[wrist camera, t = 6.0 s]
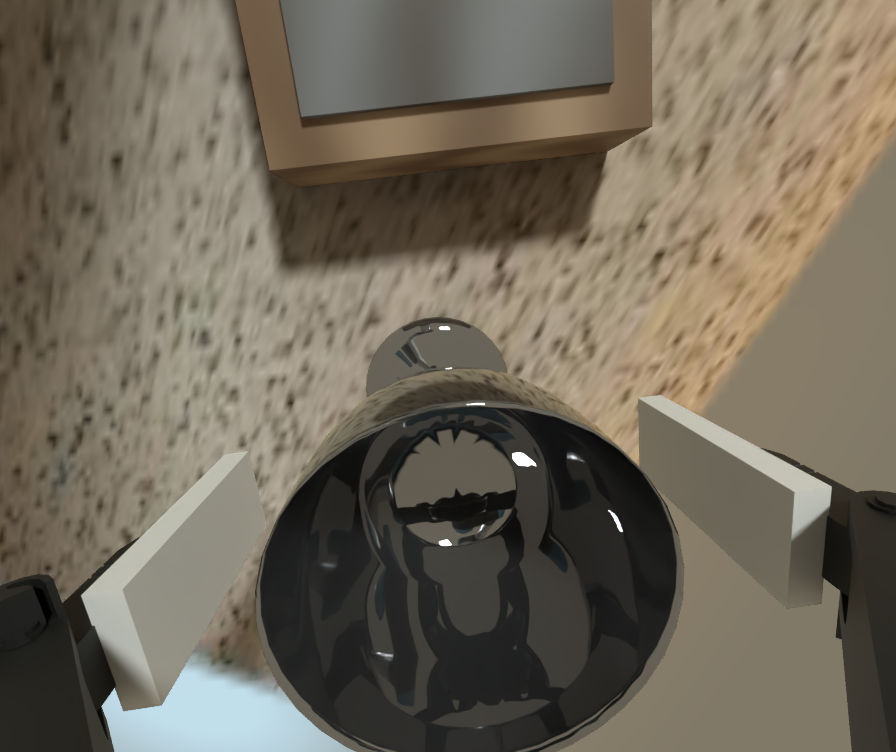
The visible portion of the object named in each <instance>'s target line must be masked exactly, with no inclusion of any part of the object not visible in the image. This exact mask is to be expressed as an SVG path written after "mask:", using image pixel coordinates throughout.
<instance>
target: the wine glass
mask: <svg viewBox="0 0 896 752" xmlns="http://www.w3.org/2000/svg"><path fill="white" fill-rule="evenodd" d="M366 392H367V398H366V399H365V400H363V401H362V402H361V403H359V404H358V405H357V406H356V407H355V408H354V409H353V410H352V411H351V412H349V413H348V414H347V415H346V416H345V417H344V418H343V419H342V420H341V422H340V423H339V424H338V425H337V426H336V427H335V428H334V429H333V430H332V431H331V432H330V433H329V434H328V435H327V436H326V438H325V439H324V441H323V442H322V444H321V445H320V447H319V448H318V450H317V451H316V453H315V454H314V456H313V457H312V459H311V460H310V462H309V463H308V465H307V466H306V468H305V469H304V471H303V473H302V474H301V476H300V477H299V479H298V480H297V482H296V483H295V485H294V486H293V488H292V490H291V492H290V494H289V496H288V498H287V500H286V502H285V503H284V505H283V507H282V509H281V511H280V513H279V515H278V518H277V520H276V523H275V525H274V528H273V530H272V533H271V535H270V538H269V540H268V542H267V545H266V547H265V550H264V552H263V555H262V557H261V563H260V568H259V574H258V579H257V585H256V591H255V596H256V625H257V629H258V633H259V637H260V641H261V644H262V648H263V652H264V656H265V658H266V660H267V662H268V664H269V666H270V668H271V670H272V672H273V675H274V677H275V679H276V681H277V683H278V685H279V686H280V687H281V688H282V690H283V691H284V692H285V694H286V695H287V696H288V698H289V699H290V700H291V702H292V703H293V704H294V706H295V707H296V708H297V709H298V710H299V711H300V712H301V713H302V714H303V715H304V716H305V717H306V718H307V719H309V720H310V721H311V722H312V723H313V724H314V725H315V726H316V727H317V728H319V729H320V730H321V731H322V732H324V733H325V734H327V735H328V736H330V737H332V738H333V739H335V740H336V741H338V742H339V743H341V744H343V745H344V746H346V747H348V748H350V749H352V750H354V751H357V752H556V751H558V750H561V749H563V748H565V747H567V746H570V745H572V744H574V743H575V742H577V741H579V740H580V739H582V738H583V737H585V736H587V735H588V734H590V733H592V732H593V731H595V730H597V729H598V728H600V727H601V726H602V725H604V724H605V723H606V722H607V721H608V720H610V719H611V718H612V717H613V716H615V715H616V714H617V713H618V712H619V711H621V710H622V709H623V708H624V707H625V706H626V705H627V704H628V703H629V702H630V701H631V700H632V699H633V697H634V696H635V695H636V694H637V693H638V692H639V691H640V690H641V689H642V688H643V686H644V685H645V684H646V683H647V681H648V680H649V678H650V677H651V675H652V674H653V672H654V671H655V669H656V668H657V666H658V665H659V663H660V661H661V660H662V658H663V656H664V655H665V652H666V650H667V648H668V646H669V643H670V641H671V639H672V636H673V634H674V632H675V629H676V626H677V622H678V617H679V613H680V609H681V605H682V600H683V585H684V563H683V557H682V551H681V545H680V540H679V535H678V532H677V530H676V527H675V525H674V522H673V520H672V517H671V515H670V512H669V510H668V507H667V505H666V503H665V502H664V500H663V499H662V497H661V496H660V494H659V493H658V491H657V490H656V488H655V487H654V485H653V484H652V482H651V481H650V479H649V478H648V476H647V475H646V474H645V473H644V472H643V471H642V470H641V468H640V467H639V466H638V465H637V464H636V463H635V462H634V461H633V460H632V459H631V458H630V457H629V456H628V455H627V454H626V453H625V452H624V451H622V450H621V449H620V448H619V447H618V446H617V445H616V444H615V443H614V442H613V441H612V440H611V439H610V438H609V437H608V436H607V435H606V434H605V433H604V432H603V431H602V430H601V429H600V428H599V427H598V426H596V425H595V424H594V423H593V422H591V421H590V420H589V419H588V418H586V417H585V416H584V415H582V414H581V413H580V412H578V411H577V410H576V409H574V408H573V407H572V406H570V405H569V404H567V403H566V402H564V401H563V400H561V399H560V398H558V397H557V396H555V395H554V394H552V393H551V392H549V391H548V390H545V389H543V388H541V387H538V386H536V385H534V384H531V383H529V382H527V381H524V380H522V379H520V378H517V377H515V376H513V375H510V374H508V373H507V369H506V365H505V362H504V360H503V358H502V356H501V353H500V351H499V350H498V349H497V347H496V346H495V344H494V343H493V342H492V341H491V340H490V339H489V338H488V337H487V336H486V335H485V334H484V333H483V332H481V331H480V330H478V329H477V328H476V327H474V326H472V325H470V324H468V323H465V322H463V321H460V320H456V319H452V318H442V317H434V318H424V319H421V320H417V321H414V322H411V323H409V324H407V325H405V326H403V327H401V328H399V329H398V330H396V331H395V332H394V333H392V334H391V335H390V336H389V337H388V338H387V339H386V340H385V341H384V342H383V343H382V344H381V345H380V347H379V348H378V350H377V352H376V353H375V355H374V357H373V359H372V361H371V364H370V366H369V370H368V375H367V386H366Z"/></svg>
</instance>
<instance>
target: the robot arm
mask: <svg viewBox="0 0 896 752" xmlns="http://www.w3.org/2000/svg"><path fill="white" fill-rule="evenodd" d="M638 414H639V461H640V468H641V470H642V471H643V472H644V473H645V474H646V475H647V476H648V478H649V479H650V481H651V482H652V484H653V485H654V486H655V487H656V488H657V489H658V490H659V491H660V492H661V493H662V494H664V495H665V496H666V497H667V498H668V499H669V500H670V501H671V502H672V503H673V504H674V505H675V506H676V507H677V508H678V509H680V510H681V511H682V512H683V513H684V514H685V515H686V516H687V517H688V518H689V519H690V520H691V521H693V522H694V523H695V524H696V525H697V526H698V527H699V528H700V529H701V530H702V531H703V532H704V533H705V534H706V535H708V536H709V537H710V538H711V539H712V540H713V541H714V542H715V543H716V544H717V545H718V546H719V547H720V548H721V549H723V550H724V551H725V552H726V553H727V554H728V555H729V556H730V557H731V558H732V559H733V560H734V561H735V562H737V563H738V564H739V565H740V566H741V567H742V568H743V569H744V570H745V571H746V572H747V573H748V574H749V575H751V576H752V577H753V578H754V579H755V580H756V581H757V582H758V583H759V584H760V585H761V586H762V587H763V588H765V589H766V590H767V591H768V592H769V593H770V594H771V595H772V596H773V597H774V598H775V599H776V600H778V602H780V603H781V604H782V605H783V606H784V607H785V608H786V609H790V608H797V607H803V606H810V605H816V604H821V601H822V590H823V579H824V578H825V579H826V580H827V581H828V582H830V583H831V584H832V585H833V586H835V587H836V588H837V589H839V590H840V600H839V610H838V619H837V629H836V638H839V639H842V648H843V658H844V670H845V681H846V692H847V703H848V713H849V725H850V736H851V746H852V752H896V493H892V492H884V491H860V492H855V491H853V490H851V489H849V488H847V487H845V486H843V485H841V484H839V483H837V482H835V481H834V480H832V479H830V478H828V477H826V476H824V475H822V474H820V473H818V472H816V473H815V472H814V470H812V469H810V468H808V467H806V466H805V465H800V463H798V462H797V461H795V460H793V459H791V458H789V457H787V456H785V455H783V454H780V453H777V452H773V451H770V450H766V449H763V448H758V447H756V446H755V445H753V444H751V443H749V442H747V441H745V440H743V439H742V438H740V437H738V436H736V435H734V434H732V433H730V432H728V431H727V430H725V429H722V428H721V427H719V426H717V425H715V424H713V423H712V422H710V421H708V420H706V419H704V418H702V417H700V416H698V415H697V414H695V413H693V412H691V411H689V410H687V409H685V408H683V407H682V406H680V405H678V404H676V403H674V402H672V401H670V400H668V399H667V398H665V397H663V396H661V395H658V396H650V397H643V398H638ZM266 526H267V525H266V521H265V517H264V513H263V509H262V504H261V500H260V496H259V492H258V488H257V484H256V480H255V476H254V471H253V467H252V463H251V459H250V455H249V451H247V452H239V453H232V454H225V455H224V456H223V457H222V458H221V459H220V460H219V461H218V462H217V463H216V464H215V465H214V466H213V467H212V468H211V469H210V470H209V471H208V472H207V473H206V474H205V475H204V476H203V477H202V478H201V479H200V480H198V481H197V482H196V483H195V484H194V485H193V486H192V487H191V488H190V489H189V490H188V491H187V492H186V493H185V494H184V495H183V496H182V497H181V498H180V499H179V500H178V501H177V502H176V503H175V504H174V505H173V506H172V507H171V508H170V509H169V510H168V511H167V512H166V513H165V514H164V515H163V516H162V517H161V518H160V519H159V520H158V521H157V522H156V523H155V524H154V525H152V526H151V527H150V528H149V529H148V530H147V531H146V532H145V533H144V534H143V535H142V536H141V537H139V538H137V539H135V540H134V541H132V542H131V543H129V544H128V545H126V546H124V547H123V548H121V549H120V550H118V551H117V552H116V553H115V554H114V555H113V556H112V557H111V558H110V559H109V560H108V561H107V562H106V563H104V567H100V568H99V569H98V570H97V571H96V572H95V573H94V574H93V575H92V578H90V579H88V580H87V581H86V582H84V583H83V584H82V585H81V586H80V587H79V588H78V589H77V590H76V591H75V592H74V593H73V594H72V595H71V596H70V597H69V598H68V599H67V600H65V601H64V602H63V603H62V601H61V599H60V596H59V594H58V591H57V588H56V586H55V583H54V580H53V578H51V577H50V576H49V575H40V574H38V575H33V576H28V577H24V578H21V579H18V580H15V581H12V582H9V583H6V584H4V585H2V586H0V752H114V749H113V744H112V740H111V737H110V732H109V728H108V724H107V720H106V717H105V715H104V712H103V709H102V707H101V706H102V705H103V703H104V702H105V700H106V699H107V698H108V696H109V695H110V693H111V692H112V691H113V689H114V688H115V690H116V692H117V695H118V697H119V700H120V703H121V706H122V709H123V711H128V710H134V709H141V708H147V707H153V706H160V705H162V704H163V702H164V700H165V698H166V697H167V695H168V694H169V692H170V690H171V689H172V686H173V685H174V683H175V682H176V680H177V678H178V677H179V675H180V673H181V671H182V670H183V668H184V666H185V664H186V663H187V661H188V659H189V658H190V656H191V654H192V652H193V651H194V649H195V647H196V646H197V644H198V642H199V640H200V639H201V637H202V635H203V634H204V632H205V630H206V628H207V627H208V625H209V623H210V622H211V620H212V618H213V616H214V615H215V613H216V611H217V610H218V608H219V606H220V604H221V603H222V601H223V599H224V598H225V596H226V594H227V592H228V591H229V589H230V587H231V586H232V584H233V582H234V580H235V579H236V577H237V575H238V574H239V572H240V570H241V568H242V567H243V565H244V563H245V562H246V560H247V558H248V556H249V555H250V553H251V551H252V550H253V548H254V546H255V544H256V543H257V541H258V539H259V538H260V536H261V534H262V532H263V531H264V529H265V527H266Z"/></svg>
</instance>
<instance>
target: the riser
mask: <svg viewBox="0 0 896 752" xmlns="http://www.w3.org/2000/svg"><path fill="white" fill-rule="evenodd" d="M235 2H236V7H237V12H238V17H239V22H240V27H241V32H242V37H243V42H244V46H245V51H246V56H247V61H248V66H249V71H250V76H251V81H252V86H253V91H254V96H255V101H256V106H257V111H258V116H259V121H260V126H261V130H262V135H263V140H264V145H265V150H266V155H267V160H268V165H269V170H270V171H271V172H273V173H275V174H276V175H278V176H280V177H281V178H283V179H285V180H286V181H288V182H289V183H291V184H293V185H294V186H296V187H306V186H314V185H323V184H332V183H340V182H349V181H357V180H366V179H374V178H383V177H391V176H400V175H408V174H417V173H425V172H434V171H443V170H451V169H460V168H468V167H477V166H485V165H494V164H502V163H511V162H519V161H528V160H536V159H545V158H554V157H562V156H571V155H579V154H588V153H596V152H605V151H609V150H611V149H613V148H615V147H616V146H618V145H620V144H622V143H623V142H625V141H627V140H629V139H631V138H632V137H634V136H636V135H638V134H639V133H641V132H643V131H645V130H647V129H648V128H650V127H652V0H235Z"/></svg>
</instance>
